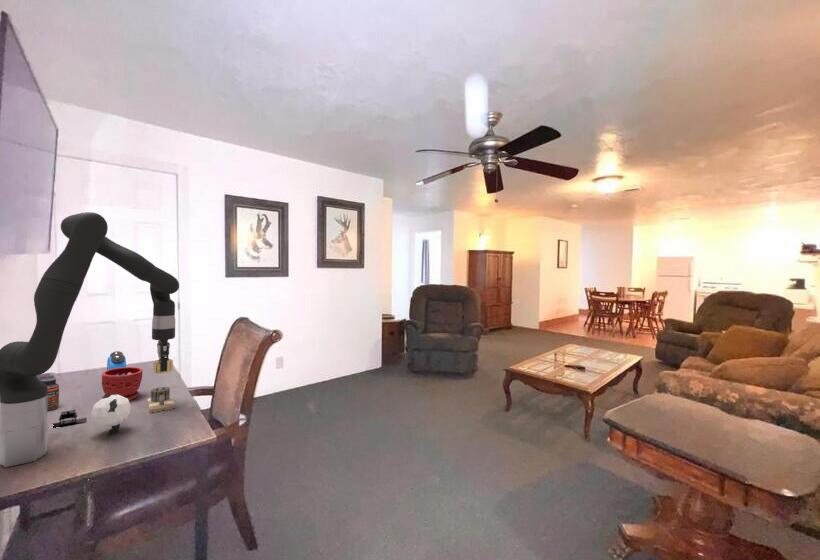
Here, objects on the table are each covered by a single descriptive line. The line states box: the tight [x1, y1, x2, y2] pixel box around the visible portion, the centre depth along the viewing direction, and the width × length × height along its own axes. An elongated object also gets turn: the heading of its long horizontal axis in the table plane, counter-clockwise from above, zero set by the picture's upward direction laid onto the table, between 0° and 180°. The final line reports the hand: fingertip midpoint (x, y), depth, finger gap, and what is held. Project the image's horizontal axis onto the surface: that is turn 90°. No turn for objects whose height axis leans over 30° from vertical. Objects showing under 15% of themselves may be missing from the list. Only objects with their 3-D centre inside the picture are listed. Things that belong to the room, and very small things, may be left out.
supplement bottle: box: [40, 377, 60, 412], centre depth 135 cm, size 6×6×11 cm
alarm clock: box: [106, 350, 127, 375], centre depth 163 cm, size 13×6×15 cm, turn 44°
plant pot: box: [101, 366, 143, 401], centre depth 147 cm, size 13×13×12 cm
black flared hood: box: [52, 409, 88, 429], centre depth 124 cm, size 12×7×5 cm, turn 131°
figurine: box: [90, 393, 132, 437], centre depth 118 cm, size 18×10×13 cm, turn 38°
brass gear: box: [152, 358, 174, 374], centre depth 139 cm, size 6×6×4 cm
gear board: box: [146, 386, 176, 414], centre depth 142 cm, size 14×8×6 cm, turn 39°
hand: (162, 368), depth 139 cm, fingers closed on brass gear, 6 cm apart
